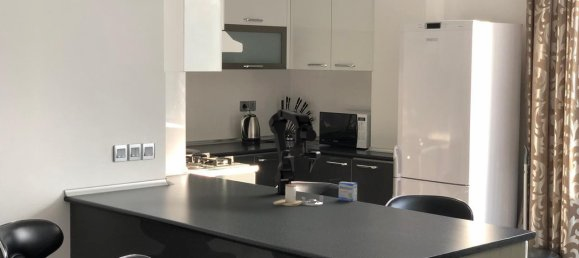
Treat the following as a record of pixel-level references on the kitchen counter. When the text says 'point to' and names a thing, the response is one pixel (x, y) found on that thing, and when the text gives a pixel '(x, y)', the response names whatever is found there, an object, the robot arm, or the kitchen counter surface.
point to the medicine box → (347, 191)
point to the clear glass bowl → (312, 202)
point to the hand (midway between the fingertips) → (301, 171)
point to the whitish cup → (290, 193)
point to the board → (282, 202)
